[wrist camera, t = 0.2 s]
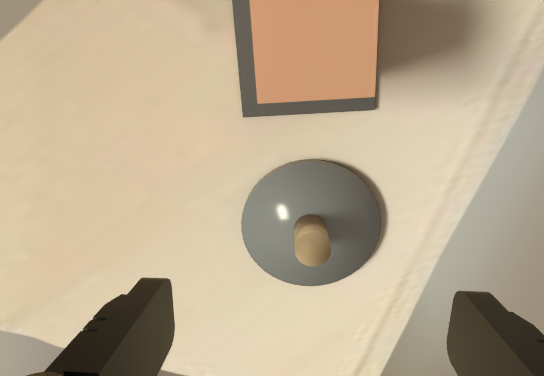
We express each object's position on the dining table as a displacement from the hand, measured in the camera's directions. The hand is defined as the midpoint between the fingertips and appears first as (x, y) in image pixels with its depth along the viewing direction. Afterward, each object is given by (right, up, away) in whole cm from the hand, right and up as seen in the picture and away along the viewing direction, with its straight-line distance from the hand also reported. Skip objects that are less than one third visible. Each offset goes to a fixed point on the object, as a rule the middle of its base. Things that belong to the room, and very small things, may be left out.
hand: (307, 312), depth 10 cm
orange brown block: (+2, +15, +17) cm, 23 cm away
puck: (+3, 0, +23) cm, 23 cm away
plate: (+3, 0, +23) cm, 24 cm away
